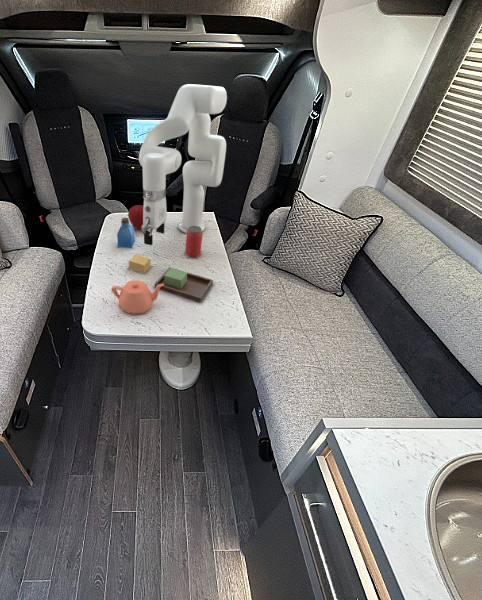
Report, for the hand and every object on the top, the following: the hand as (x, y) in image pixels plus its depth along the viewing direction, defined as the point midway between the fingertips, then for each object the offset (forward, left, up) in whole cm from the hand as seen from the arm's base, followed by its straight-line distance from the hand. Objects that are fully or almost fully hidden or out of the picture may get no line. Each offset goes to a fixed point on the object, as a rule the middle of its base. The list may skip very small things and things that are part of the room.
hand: (154, 238), depth 125 cm
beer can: (-21, +8, -16) cm, 28 cm away
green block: (+2, +10, -16) cm, 19 cm away
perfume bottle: (-15, -22, -16) cm, 32 cm away
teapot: (+19, +4, -16) cm, 25 cm away
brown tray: (+2, +14, -16) cm, 21 cm away
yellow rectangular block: (-1, -7, -16) cm, 18 cm away
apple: (-31, -24, -16) cm, 43 cm away
